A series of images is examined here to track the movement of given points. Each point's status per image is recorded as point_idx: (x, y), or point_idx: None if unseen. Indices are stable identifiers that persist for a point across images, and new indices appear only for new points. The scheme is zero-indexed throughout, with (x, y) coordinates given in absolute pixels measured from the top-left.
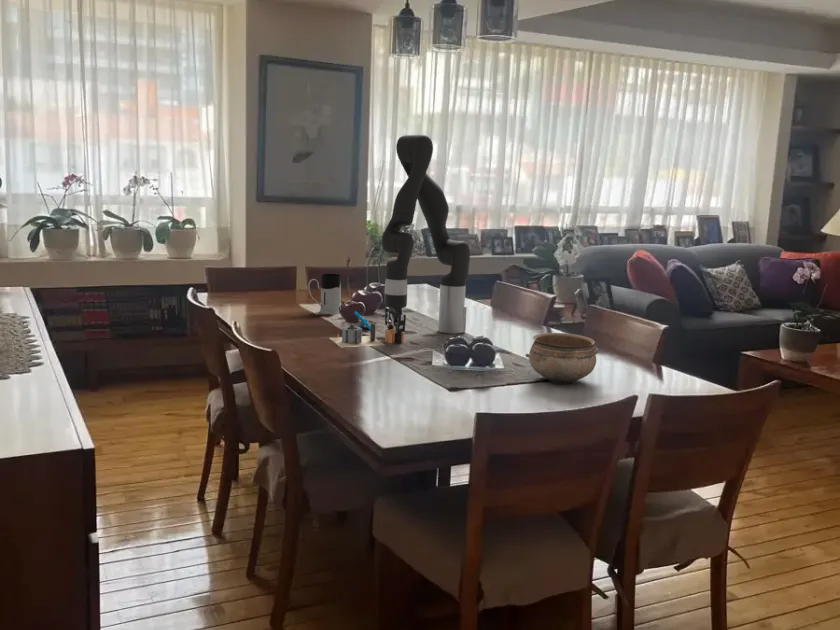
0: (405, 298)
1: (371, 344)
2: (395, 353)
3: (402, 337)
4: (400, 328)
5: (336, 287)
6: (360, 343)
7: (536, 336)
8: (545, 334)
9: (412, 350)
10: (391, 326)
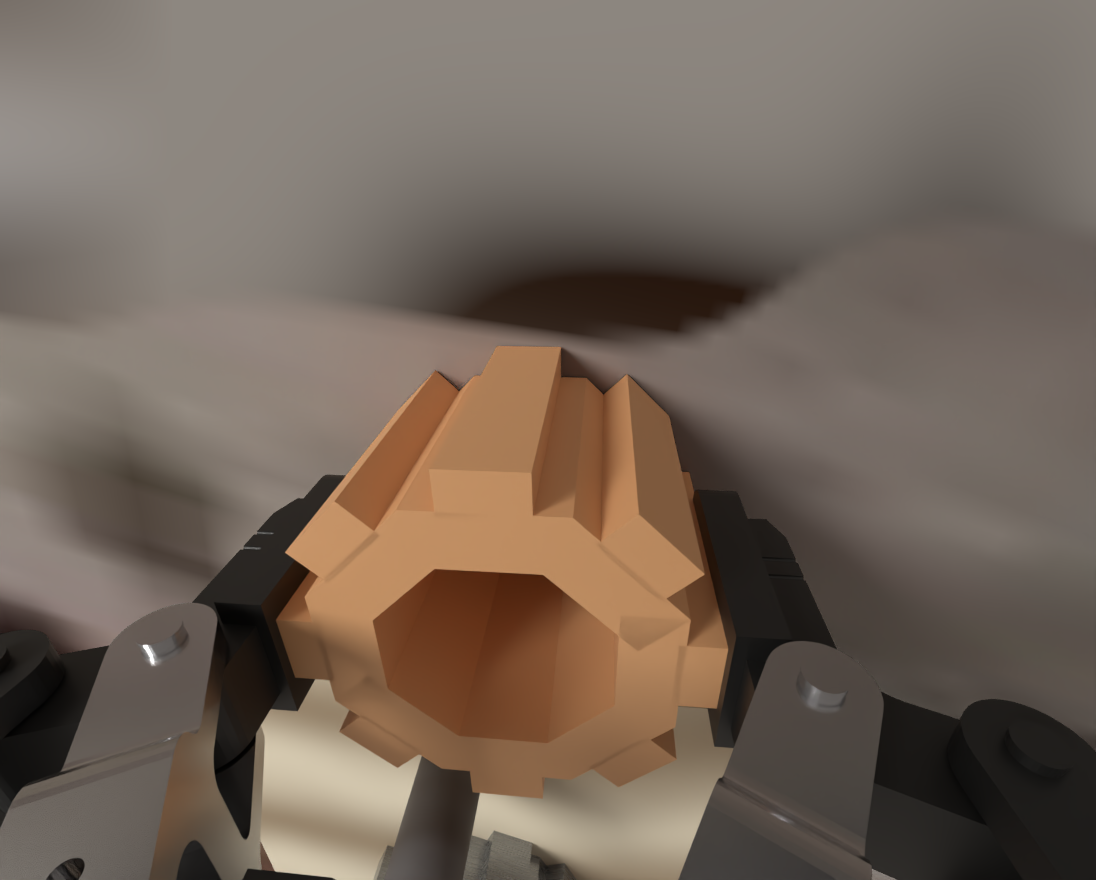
0: None
1: (657, 807)
2: (1047, 651)
3: (684, 499)
4: (792, 772)
5: None
6: (575, 859)
7: None
8: None
9: (1050, 365)
10: (237, 705)
